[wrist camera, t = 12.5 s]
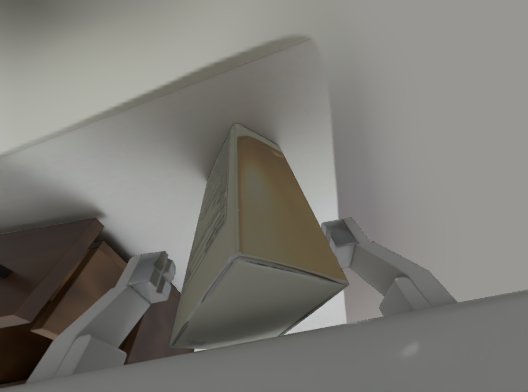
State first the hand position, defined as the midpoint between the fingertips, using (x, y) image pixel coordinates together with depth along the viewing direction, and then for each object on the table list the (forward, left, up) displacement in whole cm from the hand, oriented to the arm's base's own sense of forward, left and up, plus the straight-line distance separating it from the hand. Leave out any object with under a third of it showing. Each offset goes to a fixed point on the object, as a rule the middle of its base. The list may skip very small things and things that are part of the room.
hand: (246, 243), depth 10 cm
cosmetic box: (0, 0, -9) cm, 9 cm away
